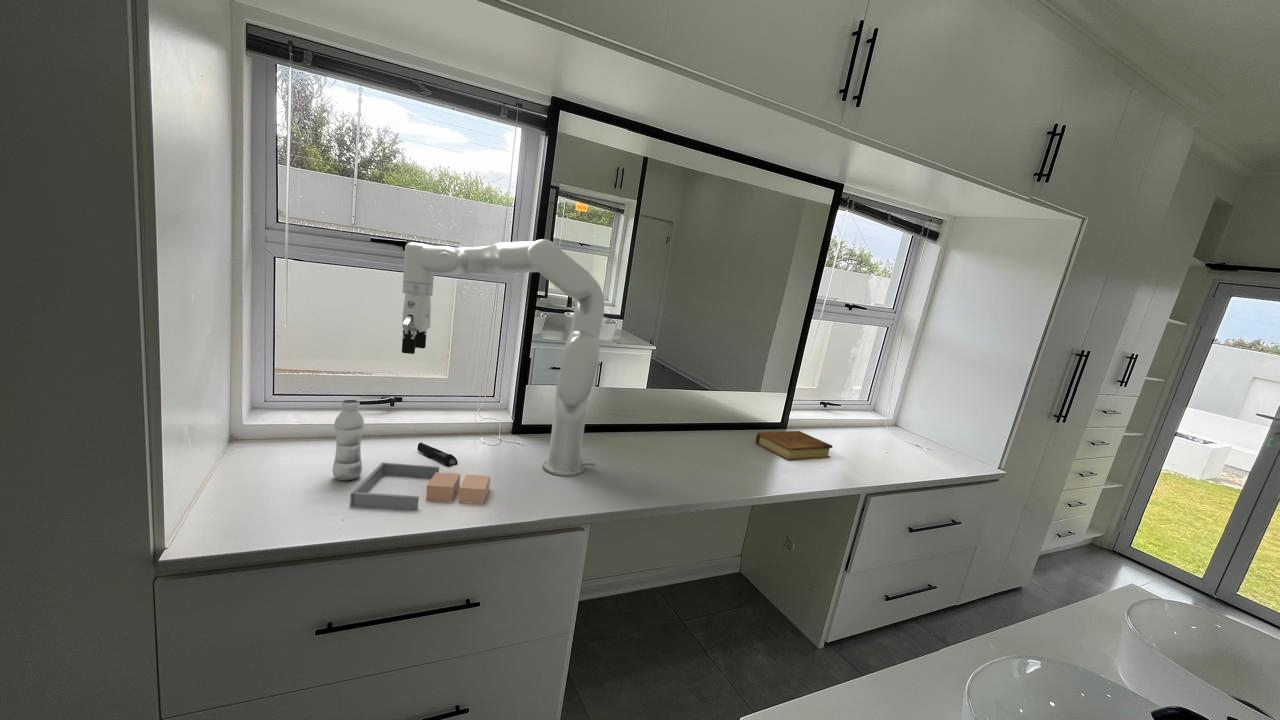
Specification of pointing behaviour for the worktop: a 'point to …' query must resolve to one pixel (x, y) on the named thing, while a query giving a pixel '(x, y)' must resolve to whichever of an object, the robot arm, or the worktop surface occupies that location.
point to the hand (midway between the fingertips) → (413, 350)
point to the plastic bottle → (348, 441)
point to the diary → (793, 445)
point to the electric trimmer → (437, 455)
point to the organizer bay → (387, 500)
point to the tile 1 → (443, 486)
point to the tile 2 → (474, 488)
